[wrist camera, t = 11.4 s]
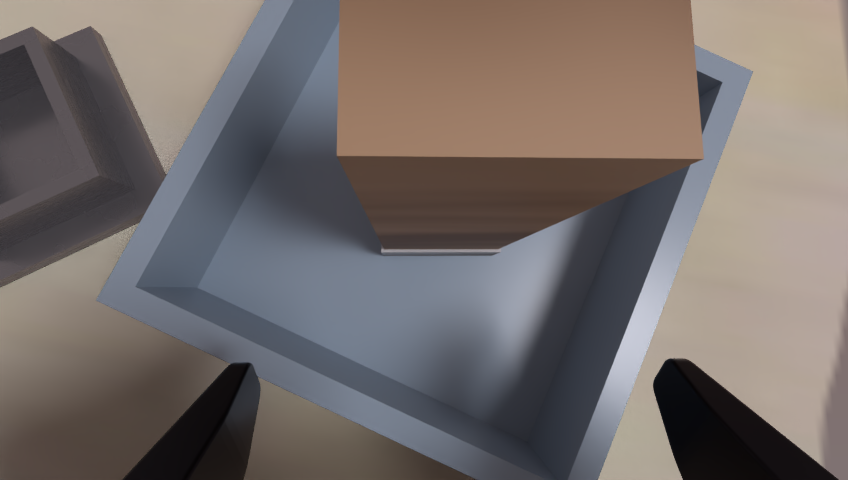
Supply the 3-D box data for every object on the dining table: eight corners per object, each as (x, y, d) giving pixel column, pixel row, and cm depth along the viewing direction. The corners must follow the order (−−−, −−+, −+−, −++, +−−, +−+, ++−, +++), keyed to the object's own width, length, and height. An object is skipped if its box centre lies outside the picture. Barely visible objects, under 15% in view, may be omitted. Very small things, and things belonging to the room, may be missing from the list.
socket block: (179, 203, 17) (138, 188, 14) (-18, 295, 16) (-97, 296, 14) (101, 34, 18) (49, -9, 15) (-92, 115, 17) (-180, 84, 14)
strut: (491, 255, 17) (713, 168, 5) (383, 256, 16) (327, 165, 4) (489, 151, 17) (684, -170, 5) (383, 150, 17) (334, -185, 5)
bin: (532, 463, 16) (579, 528, 12) (178, 297, 17) (96, 300, 12) (668, 124, 18) (753, 71, 14) (350, -22, 19) (333, -122, 14)
